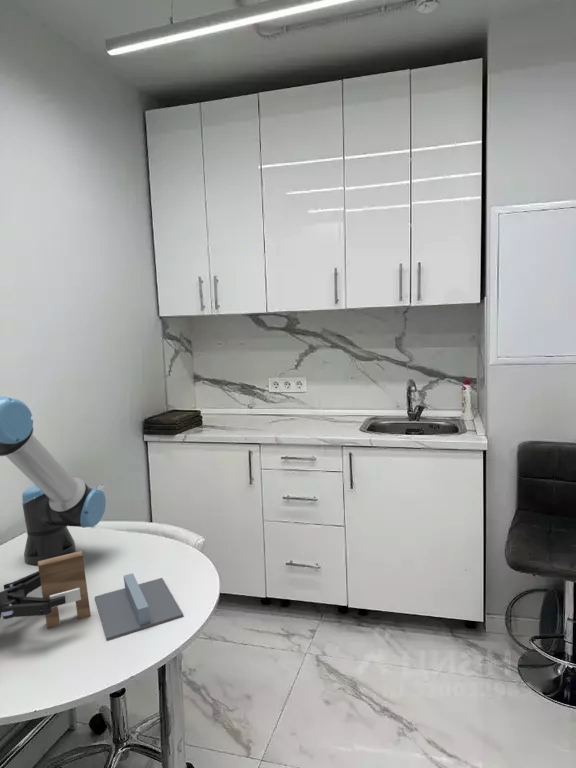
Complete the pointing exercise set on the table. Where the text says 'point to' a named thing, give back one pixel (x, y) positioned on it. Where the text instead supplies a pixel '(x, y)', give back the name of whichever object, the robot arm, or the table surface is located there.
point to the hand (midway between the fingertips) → (77, 581)
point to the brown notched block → (64, 583)
